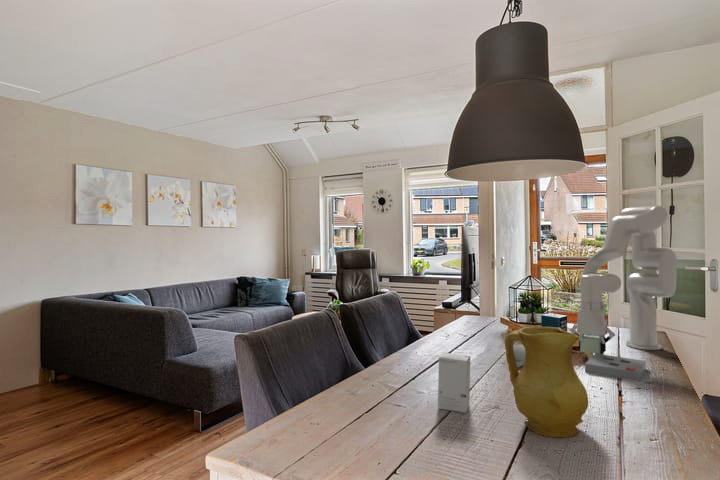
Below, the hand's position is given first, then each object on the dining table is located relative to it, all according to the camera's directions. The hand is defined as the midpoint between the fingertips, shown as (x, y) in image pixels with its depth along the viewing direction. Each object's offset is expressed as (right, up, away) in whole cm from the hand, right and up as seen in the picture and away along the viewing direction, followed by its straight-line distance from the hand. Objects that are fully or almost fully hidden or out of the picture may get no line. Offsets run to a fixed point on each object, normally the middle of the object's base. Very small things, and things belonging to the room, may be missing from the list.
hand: (592, 351), depth 165 cm
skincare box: (-64, -4, -45) cm, 78 cm away
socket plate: (0, -3, -16) cm, 16 cm away
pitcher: (-43, -4, -57) cm, 71 cm away
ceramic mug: (-30, -4, -8) cm, 31 cm away
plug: (0, -3, 0) cm, 3 cm away
